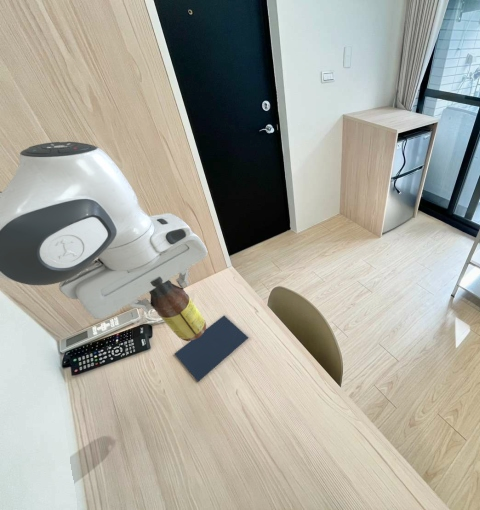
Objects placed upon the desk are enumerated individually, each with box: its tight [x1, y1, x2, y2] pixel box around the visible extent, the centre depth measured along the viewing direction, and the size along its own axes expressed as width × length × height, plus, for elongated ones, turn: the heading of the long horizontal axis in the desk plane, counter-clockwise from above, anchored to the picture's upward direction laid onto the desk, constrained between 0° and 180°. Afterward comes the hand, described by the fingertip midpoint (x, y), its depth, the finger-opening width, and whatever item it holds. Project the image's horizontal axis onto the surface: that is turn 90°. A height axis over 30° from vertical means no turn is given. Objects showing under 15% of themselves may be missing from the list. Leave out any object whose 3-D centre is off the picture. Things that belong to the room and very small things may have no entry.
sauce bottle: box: [148, 277, 207, 342], centre depth 55 cm, size 7×6×20 cm
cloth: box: [174, 315, 249, 383], centre depth 77 cm, size 16×12×1 cm
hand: (167, 296), depth 53 cm, fingers closed on sauce bottle, 6 cm apart
